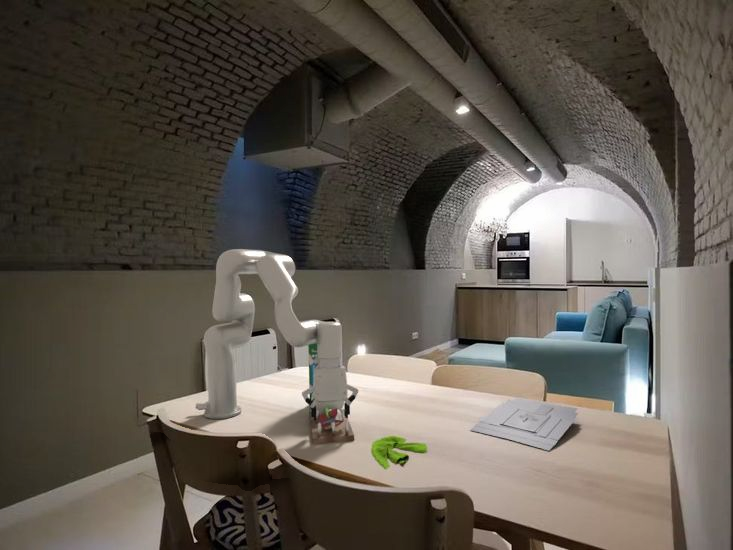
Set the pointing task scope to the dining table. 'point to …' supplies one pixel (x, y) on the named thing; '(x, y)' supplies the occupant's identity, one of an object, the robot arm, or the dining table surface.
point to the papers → (528, 422)
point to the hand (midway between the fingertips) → (330, 418)
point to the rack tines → (332, 424)
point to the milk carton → (312, 356)
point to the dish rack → (330, 432)
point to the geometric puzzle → (330, 417)
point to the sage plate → (328, 405)
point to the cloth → (384, 451)
